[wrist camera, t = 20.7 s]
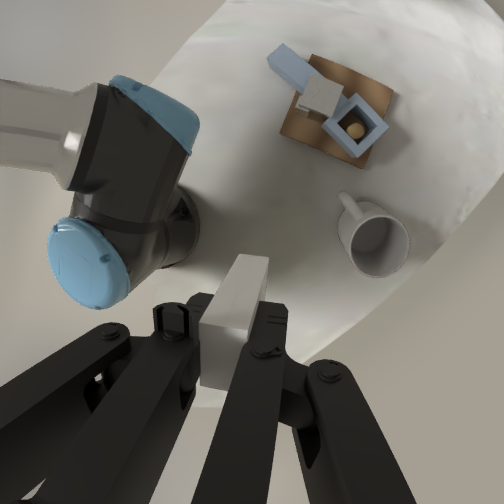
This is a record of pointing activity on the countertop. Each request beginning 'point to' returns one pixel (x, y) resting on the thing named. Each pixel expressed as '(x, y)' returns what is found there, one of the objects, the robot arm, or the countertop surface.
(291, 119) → the board
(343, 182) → the countertop surface
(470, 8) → the countertop surface
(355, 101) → the link
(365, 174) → the countertop surface
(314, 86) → the block
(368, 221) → the mug
